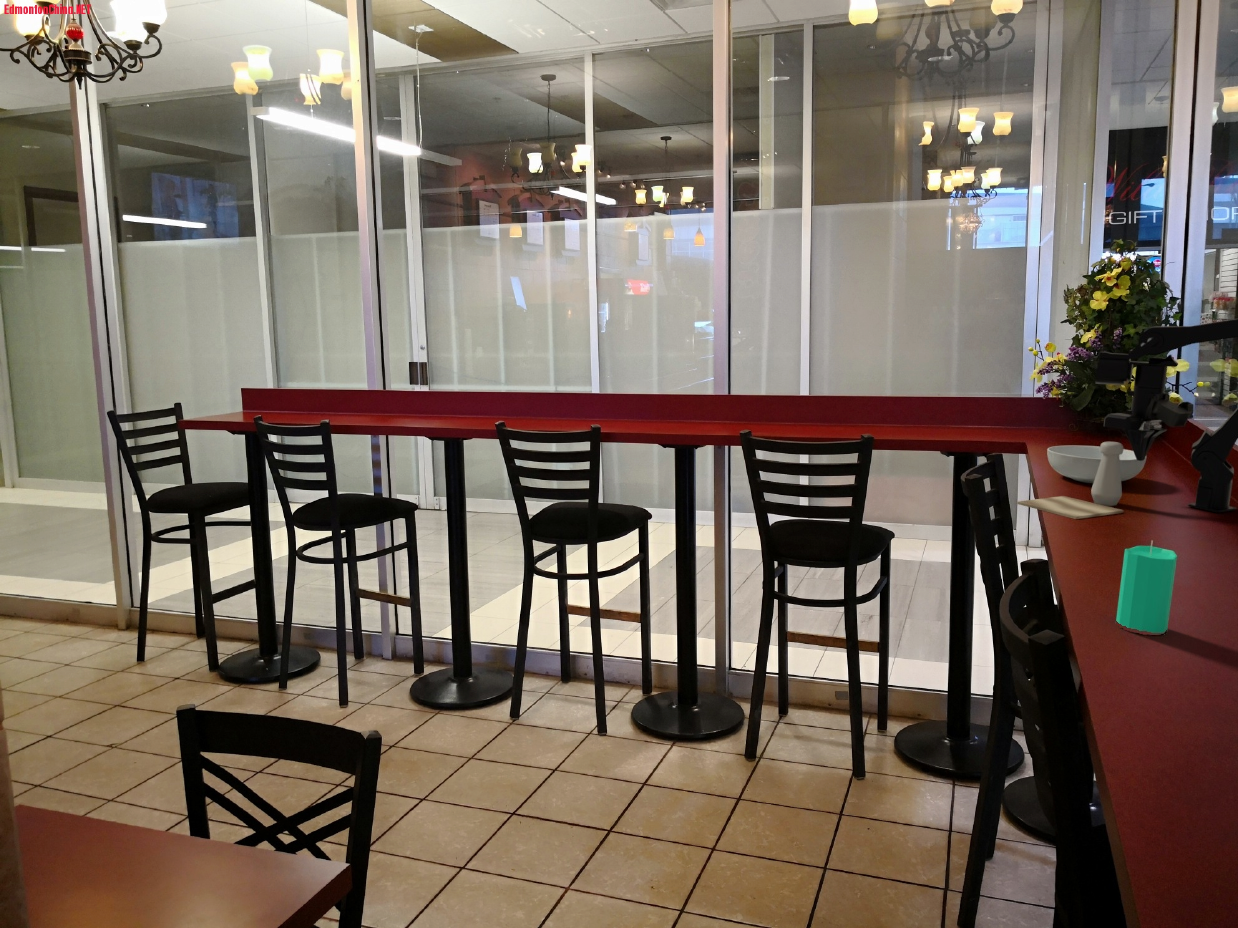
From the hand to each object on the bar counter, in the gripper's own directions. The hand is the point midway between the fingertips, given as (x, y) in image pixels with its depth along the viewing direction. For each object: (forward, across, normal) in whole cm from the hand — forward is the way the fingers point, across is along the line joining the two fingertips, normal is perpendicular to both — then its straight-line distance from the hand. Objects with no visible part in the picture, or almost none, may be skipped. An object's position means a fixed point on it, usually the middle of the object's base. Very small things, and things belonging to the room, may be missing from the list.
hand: (1140, 460), depth 204 cm
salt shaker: (+9, -10, 0) cm, 13 cm away
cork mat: (+8, -21, 0) cm, 22 cm away
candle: (+9, -73, -52) cm, 90 cm away
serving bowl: (+9, +10, +18) cm, 22 cm away
